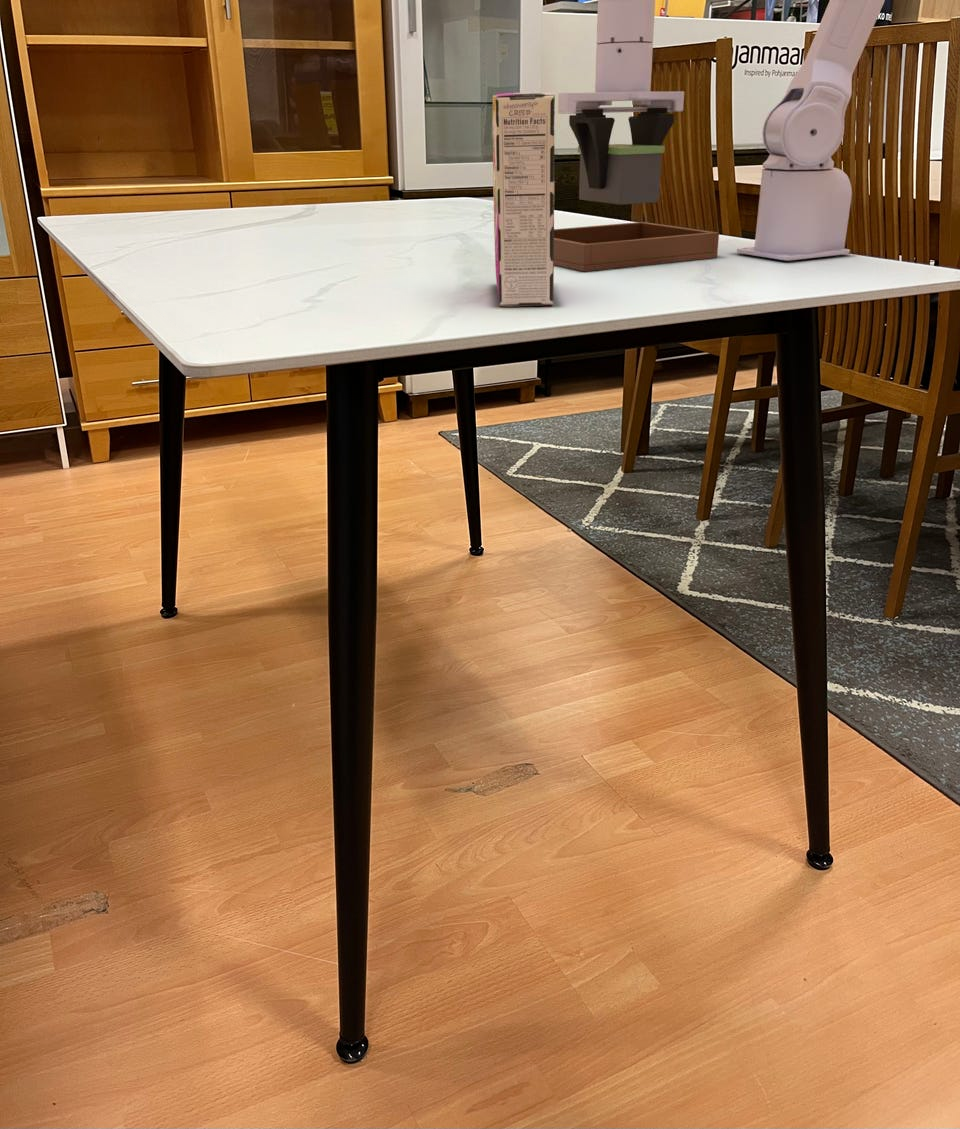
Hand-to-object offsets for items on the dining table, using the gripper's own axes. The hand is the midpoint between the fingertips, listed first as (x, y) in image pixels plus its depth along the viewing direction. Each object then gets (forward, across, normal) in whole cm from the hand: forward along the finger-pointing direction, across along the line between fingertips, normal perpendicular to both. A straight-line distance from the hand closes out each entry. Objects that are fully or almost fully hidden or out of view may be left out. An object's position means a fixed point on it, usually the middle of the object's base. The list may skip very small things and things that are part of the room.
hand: (618, 187), depth 104 cm
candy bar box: (+8, -20, -15) cm, 27 cm away
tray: (+7, 0, 0) cm, 7 cm away
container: (+1, 0, 0) cm, 1 cm away
